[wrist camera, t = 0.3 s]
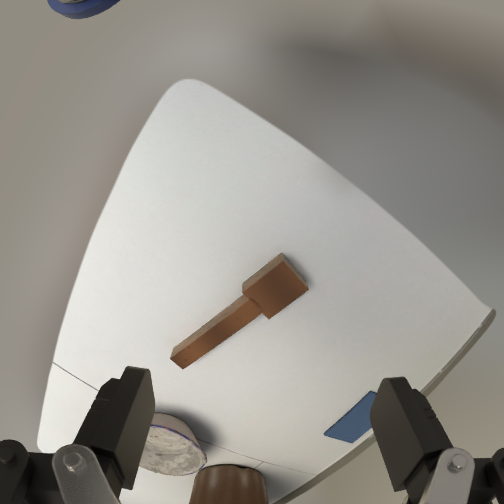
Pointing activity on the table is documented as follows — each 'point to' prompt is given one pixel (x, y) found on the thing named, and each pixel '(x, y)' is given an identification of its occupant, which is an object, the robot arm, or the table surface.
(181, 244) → the table surface
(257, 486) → the plant pot
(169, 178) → the table surface
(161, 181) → the table surface
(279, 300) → the wooden mallet
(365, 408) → the cloth
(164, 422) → the bowl
